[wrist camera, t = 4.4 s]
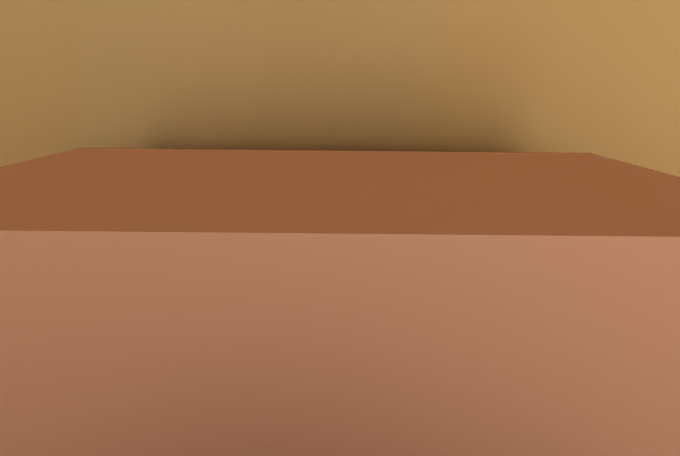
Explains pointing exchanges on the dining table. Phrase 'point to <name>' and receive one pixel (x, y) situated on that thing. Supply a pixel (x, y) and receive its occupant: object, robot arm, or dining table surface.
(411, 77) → the dining table surface
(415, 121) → the dining table surface
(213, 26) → the dining table surface
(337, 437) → the pink square tube frame
